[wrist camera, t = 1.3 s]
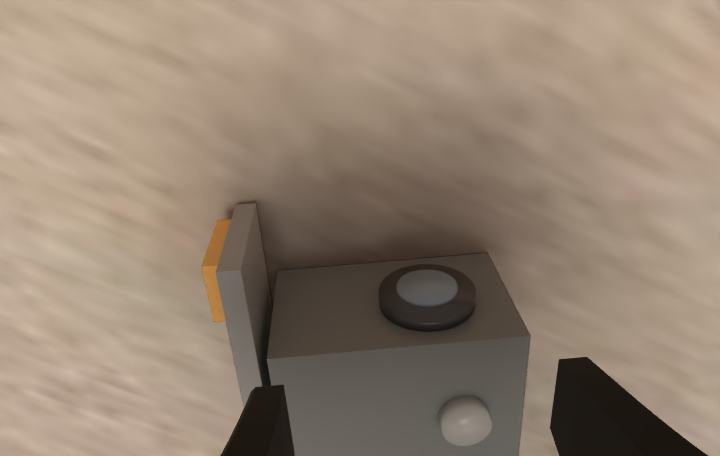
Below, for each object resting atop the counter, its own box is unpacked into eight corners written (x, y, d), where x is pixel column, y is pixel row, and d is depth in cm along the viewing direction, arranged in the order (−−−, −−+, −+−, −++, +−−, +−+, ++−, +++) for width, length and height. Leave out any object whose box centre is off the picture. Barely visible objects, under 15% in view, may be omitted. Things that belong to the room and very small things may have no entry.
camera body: (478, 439, 27) (514, 557, 22) (304, 455, 26) (301, 578, 21) (488, 237, 22) (538, 331, 17) (275, 255, 21) (262, 355, 16)
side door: (301, 469, 26) (298, 563, 22) (270, 472, 26) (262, 567, 22) (259, 202, 20) (245, 269, 16) (219, 205, 20) (195, 273, 16)
